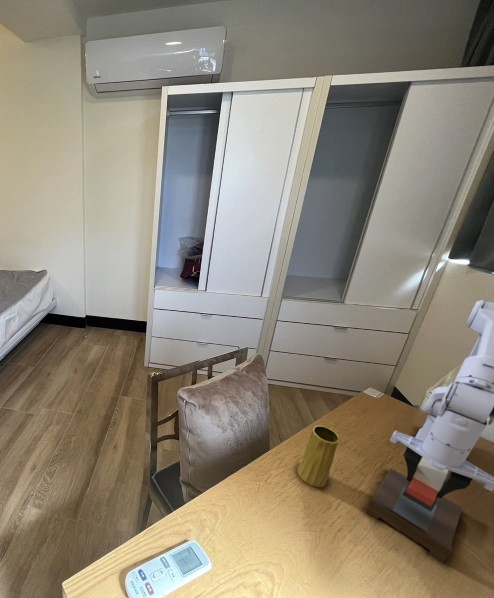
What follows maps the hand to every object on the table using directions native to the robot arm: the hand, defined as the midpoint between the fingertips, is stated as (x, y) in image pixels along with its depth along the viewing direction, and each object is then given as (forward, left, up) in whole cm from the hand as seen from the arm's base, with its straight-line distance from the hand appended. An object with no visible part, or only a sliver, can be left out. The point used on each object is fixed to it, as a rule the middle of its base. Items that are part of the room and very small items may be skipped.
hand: (423, 486), depth 65 cm
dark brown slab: (0, 0, -8) cm, 8 cm away
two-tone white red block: (-1, 0, -1) cm, 1 cm away
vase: (+8, -17, -8) cm, 20 cm away
